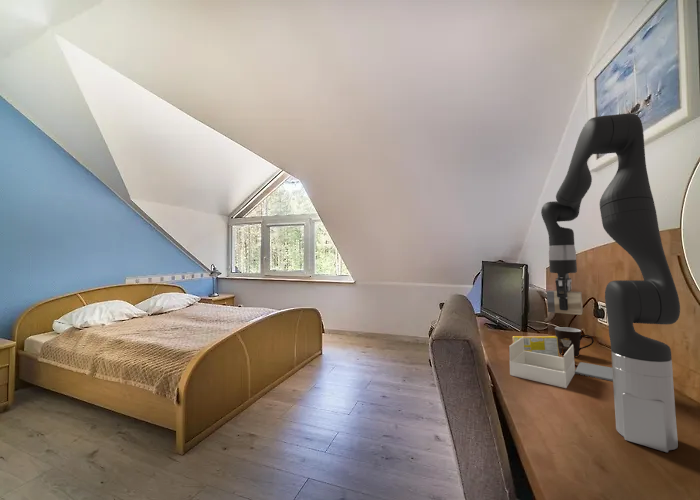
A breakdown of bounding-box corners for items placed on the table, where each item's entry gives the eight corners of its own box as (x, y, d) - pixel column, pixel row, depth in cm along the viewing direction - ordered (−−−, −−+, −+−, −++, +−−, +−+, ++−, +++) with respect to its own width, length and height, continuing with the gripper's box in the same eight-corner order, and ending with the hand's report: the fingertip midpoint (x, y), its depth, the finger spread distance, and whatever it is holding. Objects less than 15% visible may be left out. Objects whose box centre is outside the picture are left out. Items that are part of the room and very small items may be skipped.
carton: (566, 388, 86) (564, 355, 86) (510, 375, 97) (508, 346, 97) (575, 373, 97) (573, 344, 98) (524, 362, 108) (522, 337, 108)
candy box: (556, 357, 114) (555, 335, 114) (559, 358, 112) (558, 337, 112) (513, 356, 116) (512, 335, 116) (515, 358, 113) (514, 337, 114)
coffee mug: (550, 352, 119) (549, 328, 120) (565, 350, 122) (564, 326, 122) (580, 361, 108) (579, 334, 109) (596, 358, 111) (595, 332, 111)
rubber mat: (628, 384, 87) (628, 382, 88) (574, 373, 97) (574, 371, 97) (629, 372, 97) (629, 370, 97) (580, 363, 106) (580, 362, 106)
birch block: (581, 314, 93) (579, 293, 94) (547, 312, 100) (546, 291, 100) (582, 312, 97) (581, 291, 97) (550, 310, 103) (549, 290, 103)
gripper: (573, 258, 91) (576, 313, 90) (578, 258, 101) (581, 307, 101) (544, 259, 96) (547, 310, 96) (553, 259, 107) (555, 305, 106)
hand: (565, 308), depth 98 cm, fingers closed on birch block, 4 cm apart
